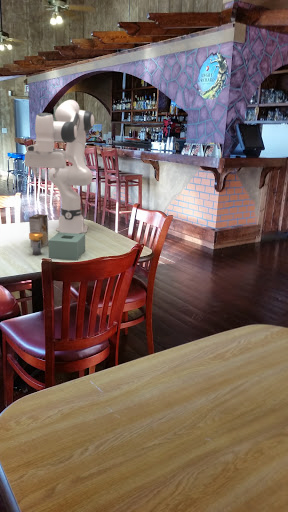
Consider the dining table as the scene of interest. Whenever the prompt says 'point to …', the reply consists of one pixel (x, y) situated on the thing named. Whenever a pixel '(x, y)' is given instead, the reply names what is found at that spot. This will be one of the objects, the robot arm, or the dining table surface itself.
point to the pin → (36, 242)
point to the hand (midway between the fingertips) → (45, 177)
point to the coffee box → (39, 227)
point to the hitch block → (66, 246)
